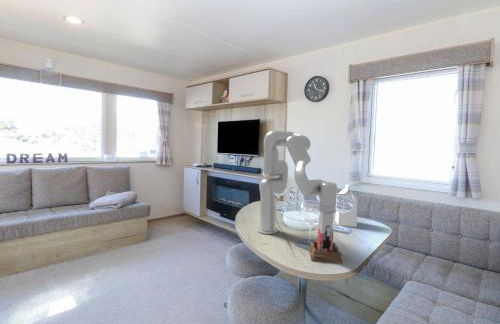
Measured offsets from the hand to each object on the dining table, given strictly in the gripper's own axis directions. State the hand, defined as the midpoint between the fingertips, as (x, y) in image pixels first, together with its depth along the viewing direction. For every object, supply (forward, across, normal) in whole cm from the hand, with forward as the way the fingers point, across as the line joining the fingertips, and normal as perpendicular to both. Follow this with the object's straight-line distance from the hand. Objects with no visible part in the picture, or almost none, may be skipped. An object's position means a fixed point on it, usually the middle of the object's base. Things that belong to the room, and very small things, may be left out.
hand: (324, 244), depth 124 cm
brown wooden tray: (+5, 0, 0) cm, 5 cm away
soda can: (+4, 0, 0) cm, 4 cm away
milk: (+6, -53, +22) cm, 58 cm away
